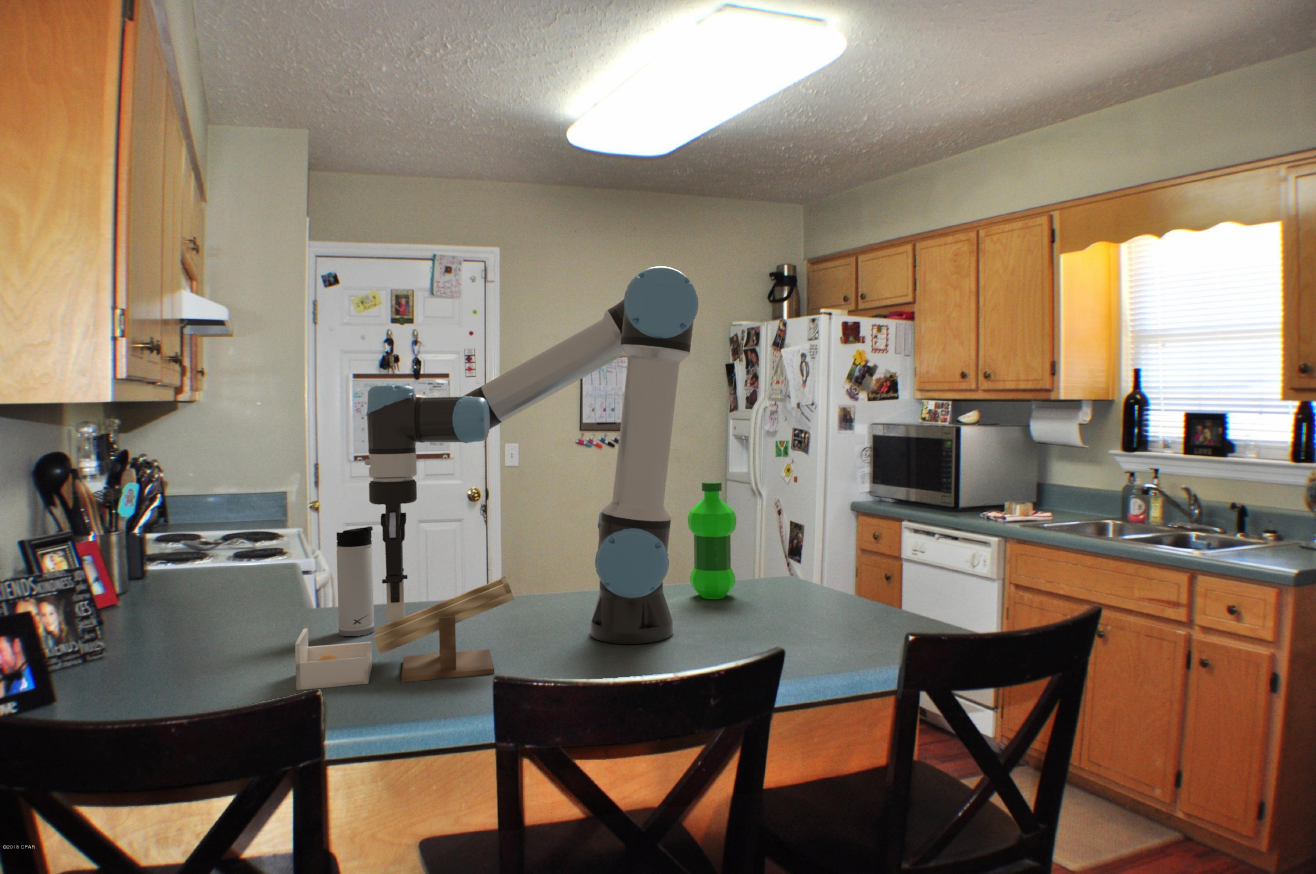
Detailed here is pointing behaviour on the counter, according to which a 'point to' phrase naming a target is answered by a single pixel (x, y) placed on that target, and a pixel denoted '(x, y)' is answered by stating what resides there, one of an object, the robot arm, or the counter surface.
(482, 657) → the stand
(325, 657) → the ball
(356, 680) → the white open box
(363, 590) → the travel mug
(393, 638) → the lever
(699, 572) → the plastic bottle
